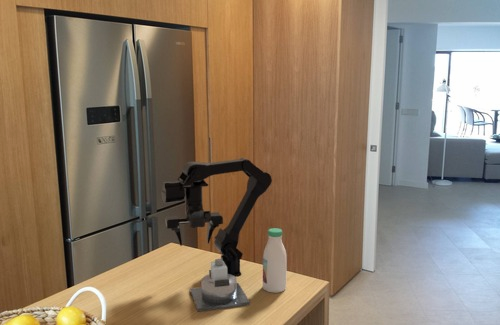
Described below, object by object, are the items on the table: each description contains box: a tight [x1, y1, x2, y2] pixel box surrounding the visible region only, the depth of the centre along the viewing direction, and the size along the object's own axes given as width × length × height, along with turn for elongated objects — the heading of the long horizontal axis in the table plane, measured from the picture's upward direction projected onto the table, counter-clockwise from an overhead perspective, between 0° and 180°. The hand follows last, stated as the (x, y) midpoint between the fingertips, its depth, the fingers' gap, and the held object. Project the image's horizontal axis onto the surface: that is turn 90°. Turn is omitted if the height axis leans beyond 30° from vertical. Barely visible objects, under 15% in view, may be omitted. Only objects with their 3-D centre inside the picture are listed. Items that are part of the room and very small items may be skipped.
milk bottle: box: [262, 227, 288, 294], centre depth 150 cm, size 8×8×20 cm
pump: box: [210, 258, 227, 284], centre depth 143 cm, size 4×6×6 cm, turn 16°
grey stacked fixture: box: [190, 269, 251, 313], centre depth 144 cm, size 16×14×8 cm
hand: (194, 244), depth 156 cm, fingers open, 9 cm apart
